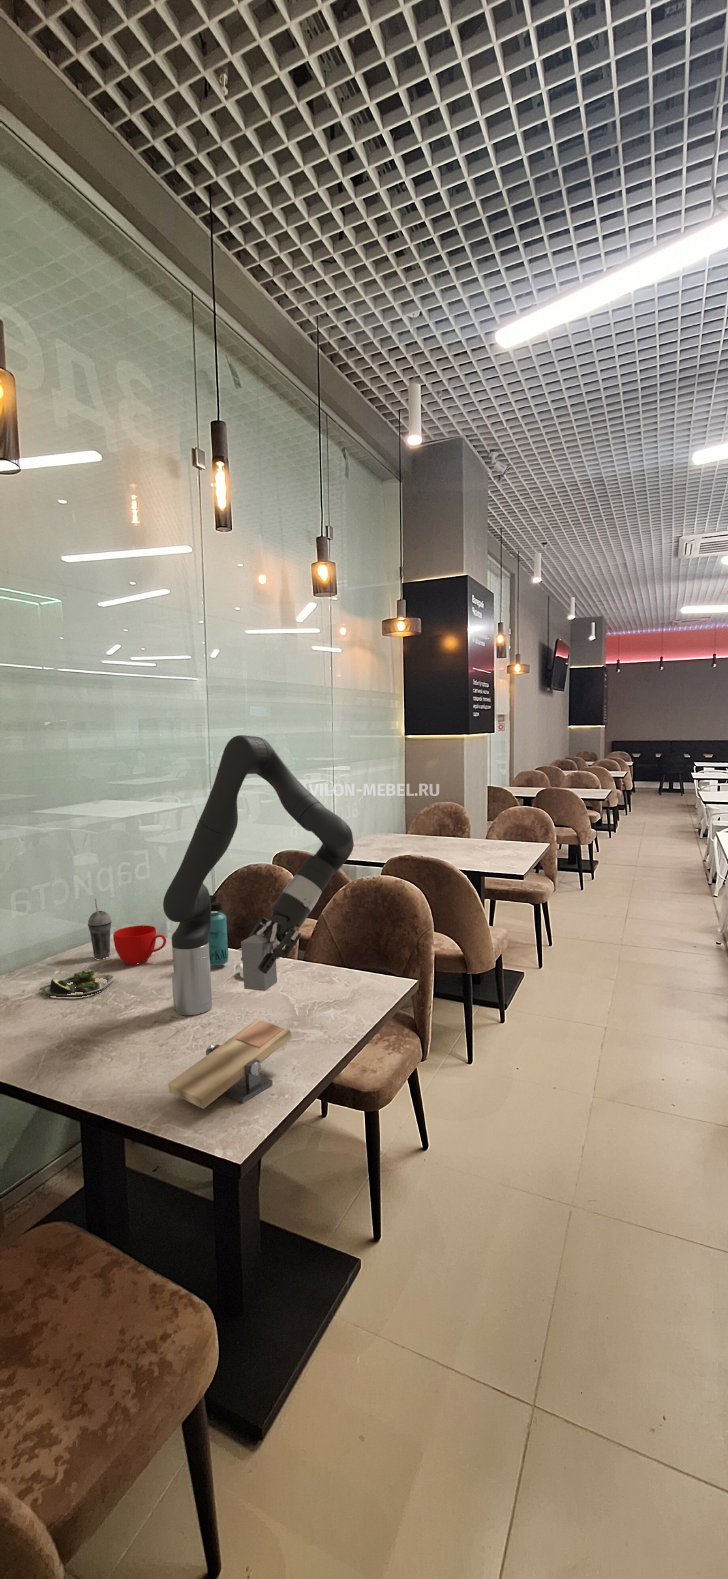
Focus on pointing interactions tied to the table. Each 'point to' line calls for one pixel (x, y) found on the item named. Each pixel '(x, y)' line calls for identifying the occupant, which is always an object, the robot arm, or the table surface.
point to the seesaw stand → (246, 1081)
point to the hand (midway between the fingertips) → (252, 966)
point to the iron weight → (257, 963)
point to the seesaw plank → (228, 1063)
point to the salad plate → (77, 984)
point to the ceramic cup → (136, 943)
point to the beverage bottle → (218, 936)
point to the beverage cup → (100, 933)
